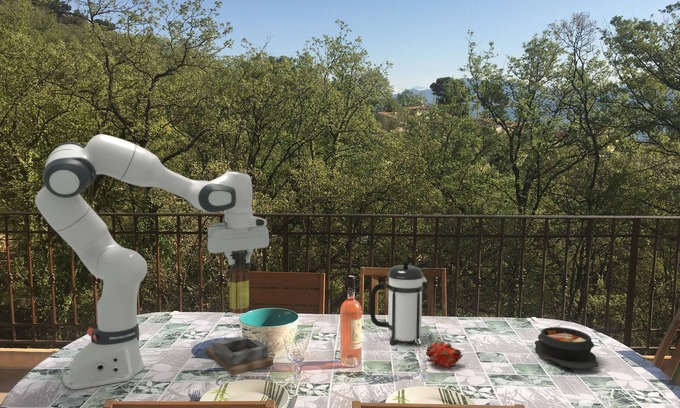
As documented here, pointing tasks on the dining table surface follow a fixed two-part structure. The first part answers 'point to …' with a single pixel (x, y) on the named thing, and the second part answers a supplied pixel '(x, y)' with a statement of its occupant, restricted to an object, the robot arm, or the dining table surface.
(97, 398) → the dining table surface
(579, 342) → the casserole
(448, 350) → the dragon fruit
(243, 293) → the sauce bottle
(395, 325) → the coffee press
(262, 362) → the board
